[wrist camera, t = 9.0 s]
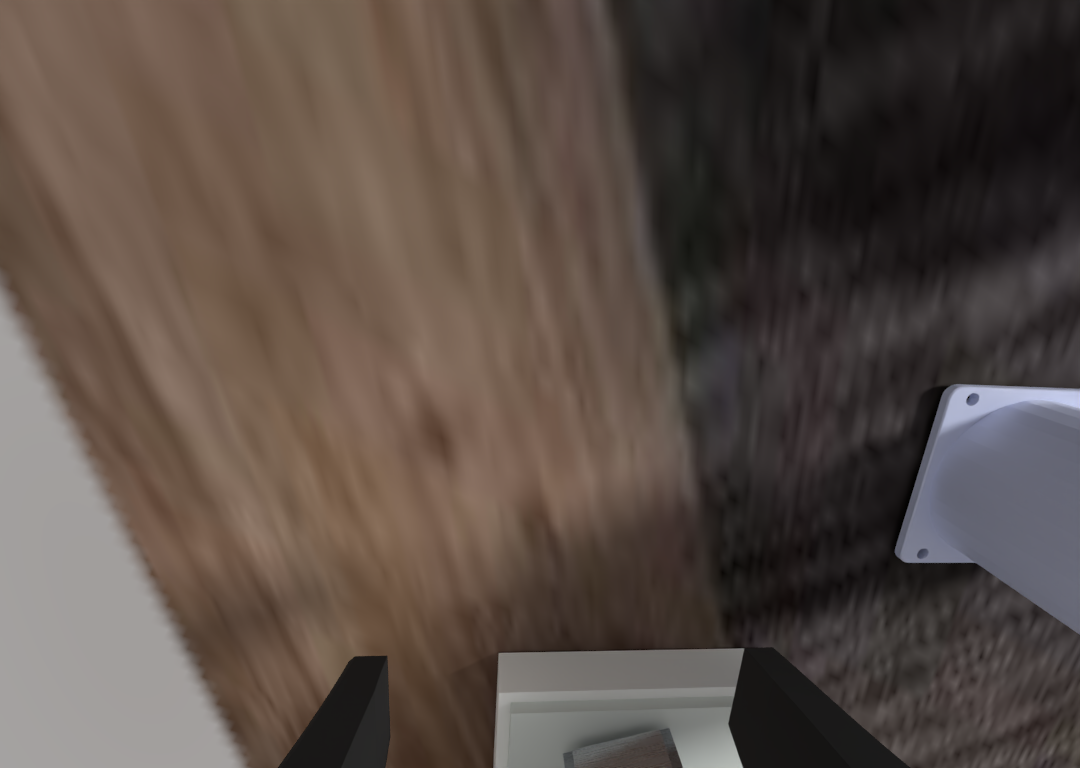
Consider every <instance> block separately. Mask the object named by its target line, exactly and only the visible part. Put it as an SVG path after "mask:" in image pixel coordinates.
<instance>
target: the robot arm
mask: <svg viewBox="0 0 1080 768" xmlns="http://www.w3.org/2000/svg"><path fill="white" fill-rule="evenodd" d="M969 395H970V397H969V399H968V400H967V398H968V396H969ZM966 400H967V401H966ZM919 550H920V551H919ZM895 554H896V556H897V557H898V558H900V559H901V560H902V561H903V562H906V563H977V564H978V565H980V566H981V567H982V568H984V569H985V570H987V571H988V572H990V573H991V574H993V575H994V576H996V577H997V578H998V579H1000V580H1001V581H1003V582H1004V583H1006V584H1007V585H1009V586H1010V587H1011V588H1013V589H1014V590H1016V591H1017V592H1019V593H1020V594H1022V595H1023V596H1025V597H1026V598H1027V599H1029V600H1030V601H1032V602H1033V603H1035V604H1036V605H1038V606H1039V607H1041V608H1042V609H1043V610H1045V611H1046V612H1048V613H1049V614H1051V615H1052V616H1054V617H1055V618H1056V619H1058V620H1059V621H1061V622H1062V623H1064V624H1065V625H1067V626H1068V627H1070V628H1071V629H1072V630H1074V631H1075V632H1077V633H1078V634H1080V389H1072V388H1045V387H1018V386H992V385H965V384H955V385H951V386H950V387H948V388H947V389H946V390H945V391H944V392H943V394H942V397H941V400H940V403H939V407H938V410H937V413H936V416H935V420H934V423H933V426H932V429H931V433H930V436H929V439H928V443H927V446H926V449H925V452H924V456H923V459H922V462H921V465H920V469H919V472H918V475H917V479H916V482H915V485H914V488H913V492H912V495H911V498H910V502H909V505H908V508H907V511H906V515H905V518H904V521H903V524H902V528H901V531H900V534H899V538H898V541H897V544H896V547H895ZM728 725H729V728H730V731H731V734H732V737H733V740H734V743H735V746H736V749H737V752H738V755H739V758H740V761H741V764H742V766H743V768H910V767H909V766H907V765H906V764H905V763H904V762H903V761H901V760H900V759H899V758H898V757H897V756H895V755H894V754H893V753H892V752H891V751H889V750H888V749H887V748H886V747H885V746H884V745H882V744H881V743H880V742H879V741H878V740H877V739H875V738H874V737H873V736H872V735H871V734H870V733H869V732H867V731H866V730H865V729H864V728H863V727H862V726H861V725H859V724H858V723H857V722H856V721H855V720H854V719H853V718H851V717H850V716H849V715H848V714H847V713H846V712H845V711H844V710H842V709H841V708H840V707H839V706H838V705H837V704H836V703H835V702H833V701H832V700H831V699H830V698H829V697H828V696H827V695H826V694H825V693H823V692H822V691H821V690H820V689H819V688H818V687H817V686H816V685H815V684H813V683H812V682H811V681H810V680H809V679H808V678H807V677H806V676H805V675H803V674H802V673H801V672H800V671H799V670H798V669H797V668H796V667H794V666H793V665H792V664H791V663H790V662H789V661H788V660H787V659H785V658H784V657H783V656H782V655H781V654H780V653H778V652H777V651H776V650H775V649H774V648H744V653H743V657H742V662H741V667H740V671H739V676H738V681H737V685H736V690H735V694H734V699H733V704H732V708H731V713H730V718H729V722H728ZM389 741H390V716H389V689H388V661H387V656H357V657H354V658H353V659H351V660H350V661H349V662H348V664H347V666H346V667H345V669H344V671H343V672H342V674H341V676H340V677H339V679H338V681H337V682H336V684H335V685H334V687H333V689H332V690H331V692H330V693H329V695H328V696H327V698H326V699H325V701H324V702H323V704H322V706H321V707H320V708H319V710H318V711H317V713H316V714H315V716H314V717H313V719H312V720H311V722H310V723H309V725H308V726H307V728H306V729H305V731H304V732H303V733H302V735H301V736H300V738H299V739H298V740H297V742H296V743H295V745H294V746H293V747H292V749H291V750H290V752H289V753H288V754H287V756H286V757H285V759H284V760H283V761H282V763H281V764H280V766H279V767H278V768H385V766H386V760H387V754H388V747H389Z"/></svg>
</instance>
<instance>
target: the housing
mask: <svg viewBox="0 0 1080 768" xmlns="http://www.w3.org/2000/svg"><path fill="white" fill-rule="evenodd" d="M563 758H564V766H565V768H683V766H682V763H681V760H680V757H679V755H678V752H677V749H676V746H675V743H674V740H673V737H672V735H671V732H670V729H669V728H666V729H662V730H660V729H657V730H653V731H649V732H645V733H641V734H637V735H633V736H629V737H624V738H620V739H616V740H612V741H608V742H604V743H600V744H595V745H591V746H587V747H583V748H579V749H575V750H572V751H571V752H567V753H563Z"/></svg>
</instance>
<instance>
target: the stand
mask: <svg viewBox="0 0 1080 768" xmlns="http://www.w3.org/2000/svg"><path fill="white" fill-rule="evenodd" d="M743 653H744V648H736V649H682V650H627V651H573V652H518V653H499V654H498V676H497V697H496V719H495V740H494V762H493V768H565V766H564V758H563V753H567V752H571V751H572V750H575V749H579V748H583V747H587V746H591V745H595V744H600V743H604V742H608V741H612V740H616V739H620V738H624V737H629V736H633V735H637V734H641V733H645V732H649V731H653V730H657V729H660V730H662V729H666V728H669V729H670V732H671V735H672V737H673V740H674V743H675V746H676V749H677V752H678V755H679V757H680V760H681V763H682V766H683V768H743V766H742V764H741V761H740V758H739V755H738V752H737V749H736V746H735V743H734V740H733V737H732V734H731V731H730V728H729V725H728V722H729V718H730V713H731V708H732V704H733V699H734V694H735V690H736V685H737V681H738V676H739V671H740V667H741V662H742V657H743Z"/></svg>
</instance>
